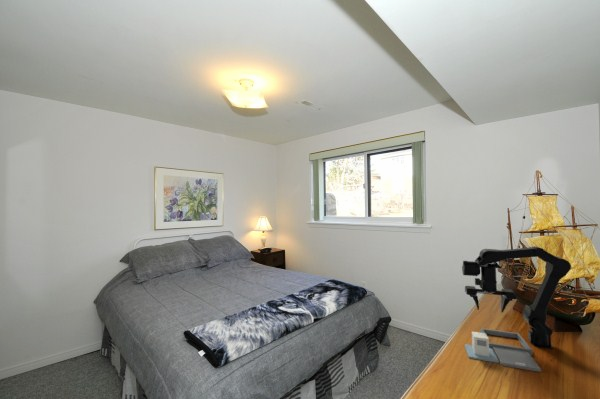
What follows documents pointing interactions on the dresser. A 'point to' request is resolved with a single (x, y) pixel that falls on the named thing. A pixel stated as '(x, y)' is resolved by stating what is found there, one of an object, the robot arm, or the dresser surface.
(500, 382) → the dresser surface
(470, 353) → the mat
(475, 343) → the block
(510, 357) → the grey open frame
